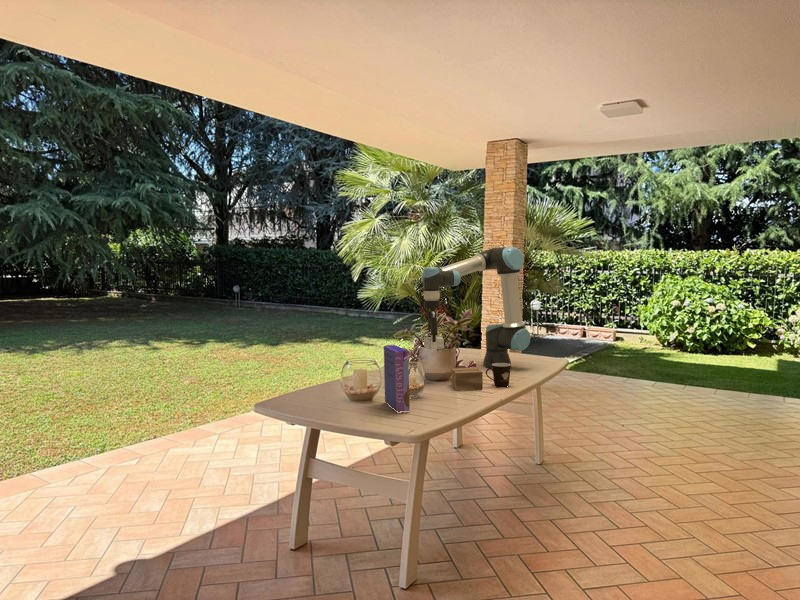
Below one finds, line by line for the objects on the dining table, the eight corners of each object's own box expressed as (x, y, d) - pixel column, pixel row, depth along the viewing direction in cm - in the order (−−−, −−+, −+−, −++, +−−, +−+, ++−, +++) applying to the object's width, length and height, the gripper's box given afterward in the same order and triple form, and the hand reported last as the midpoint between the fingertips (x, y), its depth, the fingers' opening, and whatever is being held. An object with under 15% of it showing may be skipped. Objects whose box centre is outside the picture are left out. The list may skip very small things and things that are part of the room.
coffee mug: (510, 384, 260) (509, 362, 259) (512, 388, 251) (511, 366, 251) (484, 384, 261) (484, 363, 260) (485, 388, 252) (485, 366, 252)
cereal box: (409, 412, 214) (408, 350, 213) (397, 413, 213) (396, 351, 211) (396, 402, 231) (394, 344, 229) (385, 403, 229) (383, 345, 228)
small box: (438, 346, 270) (438, 335, 269) (444, 348, 262) (444, 338, 262) (423, 347, 268) (422, 336, 267) (428, 350, 260) (428, 339, 260)
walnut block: (451, 385, 260) (451, 368, 260) (477, 384, 261) (476, 367, 261) (456, 390, 248) (455, 373, 248) (482, 389, 249) (482, 372, 249)
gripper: (421, 298, 274) (422, 344, 275) (426, 301, 252) (427, 351, 254) (436, 298, 274) (437, 343, 276) (442, 301, 253) (443, 350, 254)
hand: (432, 347), depth 265 cm, fingers closed on small box, 9 cm apart
